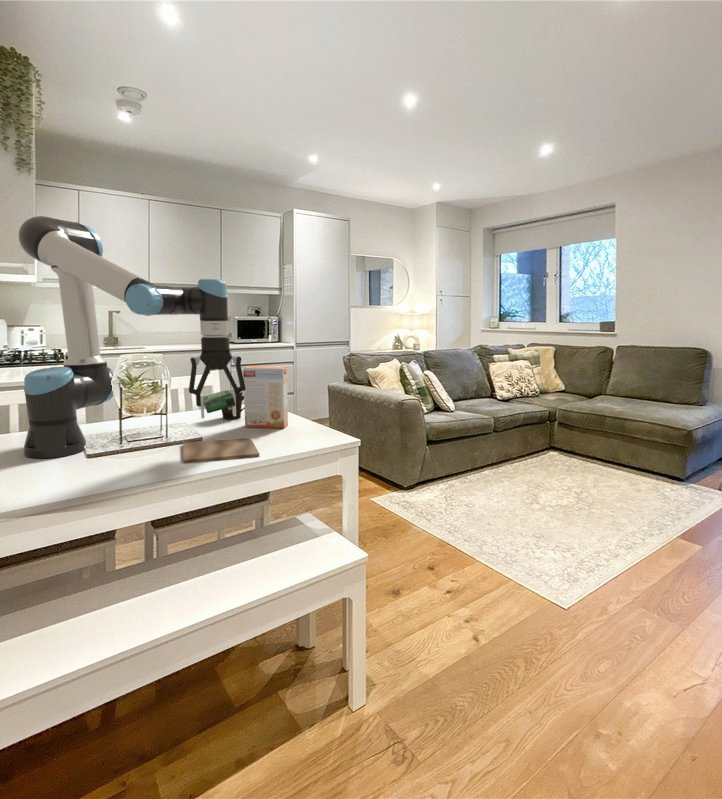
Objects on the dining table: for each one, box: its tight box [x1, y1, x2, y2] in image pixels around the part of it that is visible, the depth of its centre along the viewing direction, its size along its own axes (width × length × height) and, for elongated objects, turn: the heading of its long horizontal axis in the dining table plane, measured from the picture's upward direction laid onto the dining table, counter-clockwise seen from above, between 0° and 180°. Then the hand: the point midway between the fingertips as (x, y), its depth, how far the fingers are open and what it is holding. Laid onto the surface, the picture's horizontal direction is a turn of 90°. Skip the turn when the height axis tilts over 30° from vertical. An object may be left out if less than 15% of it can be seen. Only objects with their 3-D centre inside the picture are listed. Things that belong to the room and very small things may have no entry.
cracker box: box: [242, 365, 289, 429], centre depth 172 cm, size 14×6×21 cm, turn 84°
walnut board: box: [182, 437, 260, 464], centre depth 144 cm, size 20×18×1 cm
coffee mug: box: [218, 389, 245, 421], centre depth 185 cm, size 12×9×10 cm
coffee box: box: [203, 389, 236, 414], centre depth 140 cm, size 8×3×13 cm
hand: (218, 416), depth 142 cm, fingers closed on coffee box, 8 cm apart
